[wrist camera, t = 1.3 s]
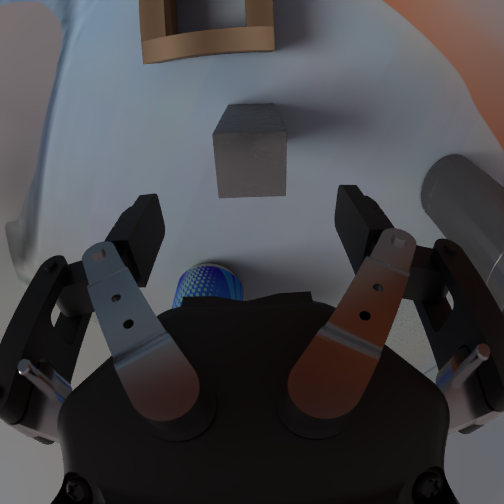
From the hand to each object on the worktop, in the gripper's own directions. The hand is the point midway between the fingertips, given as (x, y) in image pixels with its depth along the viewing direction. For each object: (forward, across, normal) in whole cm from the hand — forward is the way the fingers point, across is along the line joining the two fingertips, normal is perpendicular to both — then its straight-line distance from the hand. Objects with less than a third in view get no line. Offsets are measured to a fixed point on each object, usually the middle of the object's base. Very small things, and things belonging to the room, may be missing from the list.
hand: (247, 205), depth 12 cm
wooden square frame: (+15, +3, -12) cm, 20 cm away
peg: (+15, 0, 0) cm, 15 cm away
